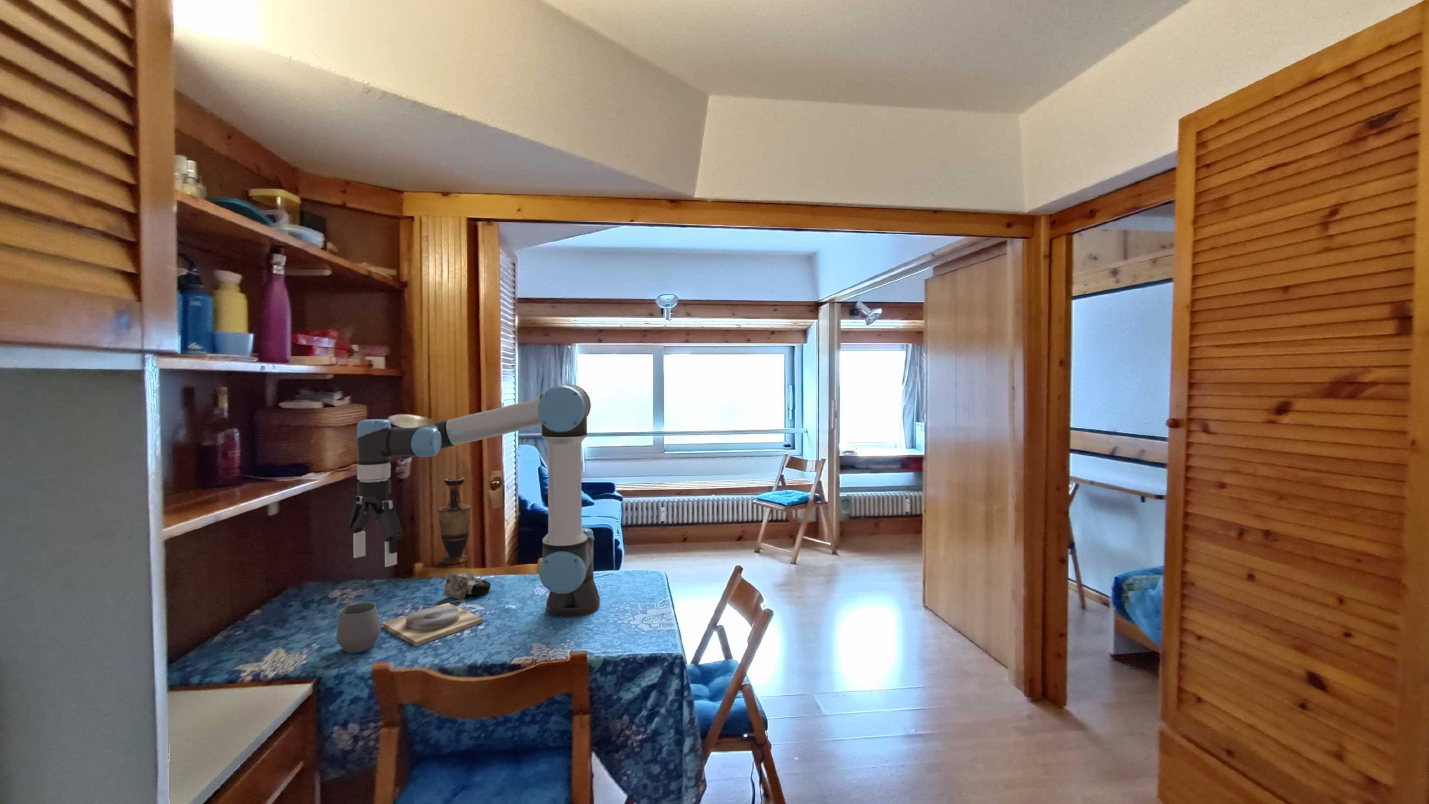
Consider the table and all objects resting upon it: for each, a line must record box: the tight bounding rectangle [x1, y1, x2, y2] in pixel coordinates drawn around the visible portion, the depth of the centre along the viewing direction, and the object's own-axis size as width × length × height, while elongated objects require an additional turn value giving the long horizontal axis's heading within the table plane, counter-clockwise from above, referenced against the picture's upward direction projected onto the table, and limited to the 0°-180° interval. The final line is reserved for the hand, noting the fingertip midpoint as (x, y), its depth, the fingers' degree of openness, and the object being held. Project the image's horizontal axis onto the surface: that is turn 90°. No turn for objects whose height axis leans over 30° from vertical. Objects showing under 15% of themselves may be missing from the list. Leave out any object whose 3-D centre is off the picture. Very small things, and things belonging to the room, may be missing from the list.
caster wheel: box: [442, 572, 492, 601], centre depth 183 cm, size 7×11×10 cm
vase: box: [437, 477, 472, 565], centre depth 214 cm, size 11×11×30 cm
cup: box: [335, 602, 382, 654], centre depth 146 cm, size 10×9×10 cm
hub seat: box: [382, 602, 484, 647], centre depth 160 cm, size 18×18×3 cm
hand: (374, 561), depth 154 cm, fingers open, 13 cm apart
